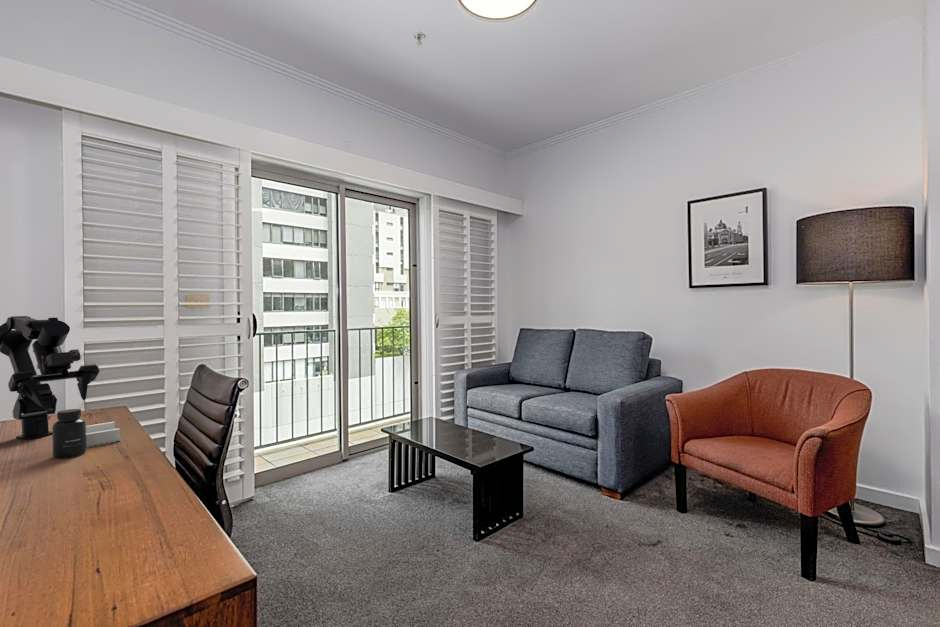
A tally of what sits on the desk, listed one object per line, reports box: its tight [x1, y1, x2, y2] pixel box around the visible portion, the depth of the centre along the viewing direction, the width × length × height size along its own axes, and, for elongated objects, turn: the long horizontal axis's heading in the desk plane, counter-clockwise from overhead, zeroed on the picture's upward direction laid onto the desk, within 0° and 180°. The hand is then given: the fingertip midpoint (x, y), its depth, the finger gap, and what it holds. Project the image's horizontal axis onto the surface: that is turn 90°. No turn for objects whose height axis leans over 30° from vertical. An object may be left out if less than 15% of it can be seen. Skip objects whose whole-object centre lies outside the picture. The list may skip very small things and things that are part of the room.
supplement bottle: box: [51, 408, 87, 460], centre depth 122 cm, size 7×7×12 cm
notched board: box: [86, 421, 121, 448], centre depth 135 cm, size 10×12×4 cm
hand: (64, 402), depth 128 cm, fingers open, 9 cm apart
